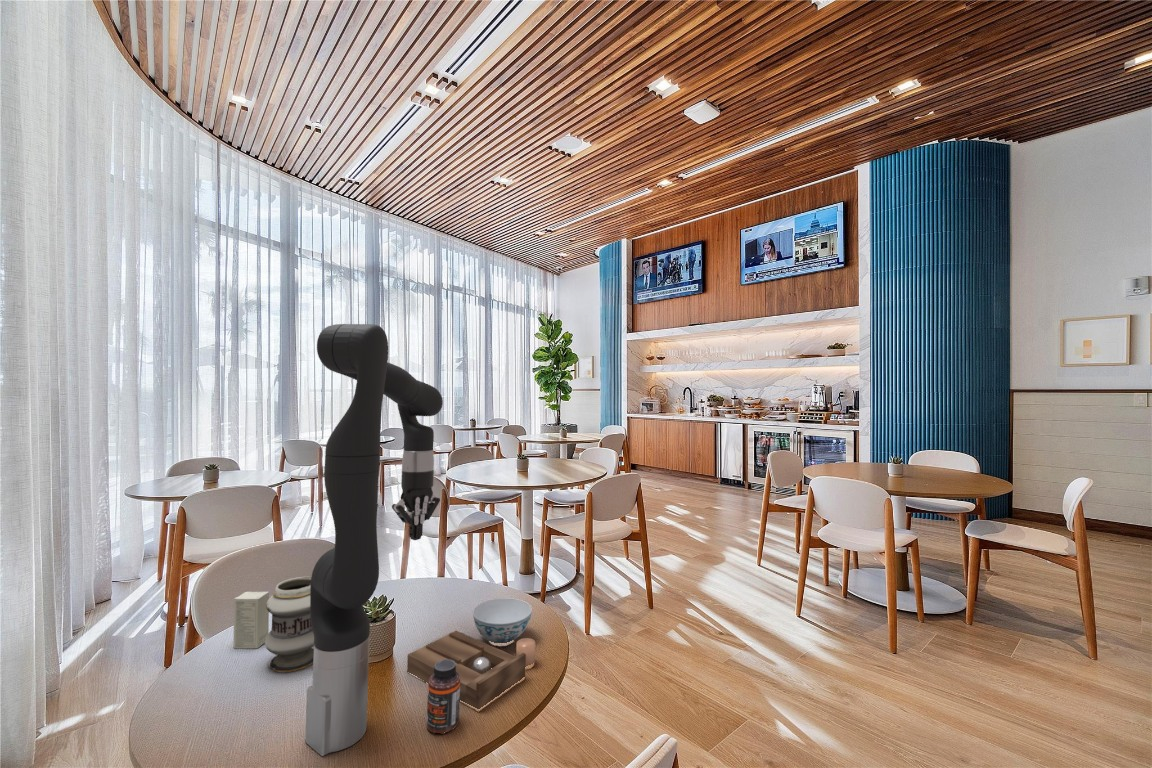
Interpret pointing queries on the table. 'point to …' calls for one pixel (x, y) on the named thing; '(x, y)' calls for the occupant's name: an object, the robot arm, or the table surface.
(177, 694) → the table surface
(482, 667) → the steel ball
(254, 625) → the skincare box
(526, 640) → the beige rounded cylinder
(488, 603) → the chinaware
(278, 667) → the apothecary jar
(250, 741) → the table surface
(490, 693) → the wooden box
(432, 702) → the supplement bottle
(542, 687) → the table surface
